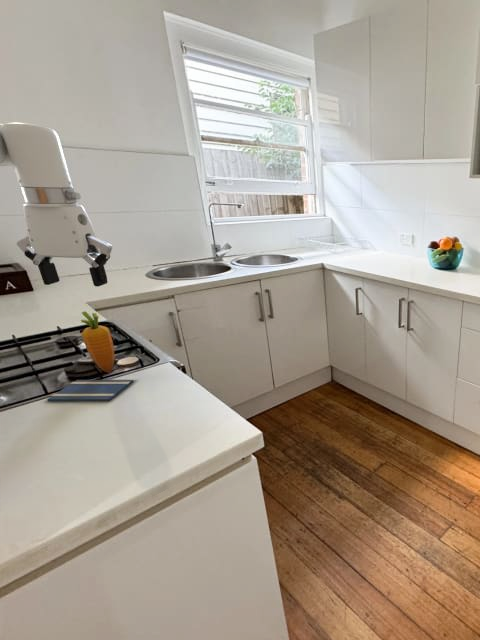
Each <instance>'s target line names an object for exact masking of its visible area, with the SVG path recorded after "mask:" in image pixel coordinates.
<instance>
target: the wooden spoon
mask: <svg viewBox="0 0 480 640" xmlns="http://www.w3.org/2000/svg"><path fill="white" fill-rule="evenodd" d="M77 363H78V364H80V365H97V364H96V363H95V362H94V360H93V359H92V358H79V359H78V360H77ZM138 364H140V359H139V357H138V356H128V357H124V358H121V359H118V358H114V364H113V365H117V367H119V368H121V369H122V368H130V367H135V366H136V365H138Z"/></svg>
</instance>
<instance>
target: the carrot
mask: <svg viewBox="0 0 480 640" xmlns="http://www.w3.org/2000/svg"><path fill="white" fill-rule="evenodd" d="M81 314H82V315H83V316H84V317H85V318H86V319H81V320H80V322H81V323H84V324H85V325H87V326H89V327H86V328H84V330H82V332H81V338H82V341H83V343H84V346H85V347H86V351H87V353H88V354H89V355H90V358H91V359H93V360H94V362H95V363H96V364H95V365H96V366H97V367H98V368H99V369H101V371H103V372H104V373H107V374H110V373H111V372H112V371H113V367H114V365H115V364H114V359H115V346H114V341H113V338H112V334H111V331H110V330H111V329H110V328H109V327H107V326H104V325H99V315H98V314H97V313H95V312H92V313H91V315H92V317H91V315H90V314H89V313H88V312H87V311H86V310H84V311H82V312H81Z"/></svg>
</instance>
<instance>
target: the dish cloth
mask: <svg viewBox="0 0 480 640" xmlns="http://www.w3.org/2000/svg"><path fill="white" fill-rule="evenodd" d="M133 383H134V380H133V379H75V381H72V382H71V383H69V384H68V385H67V386H65V387H64V388H62V389H61V390H59V391H57V392H56V393H53V394H52V395H51V396H50V397H48V398H47V399H46V400H47V402H110V401H112V400H113V399H114V398H115V397H117V396H118V395H119V394H120V393H121V392H123V391H124V390H126V388H128V387H129V386H130V385H131V384H133Z"/></svg>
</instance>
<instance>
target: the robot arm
mask: <svg viewBox="0 0 480 640" xmlns="http://www.w3.org/2000/svg"><path fill="white" fill-rule="evenodd" d="M10 166H12V168H13V171H14V173H15V176H16V179H17V183H18V186H19V188H20V192H21V195H22V197H23V201H24V204H23V205H22V206H23V216H24V224H25V227H26V231H27V236H25V237H24V238H21V239H20V240H18V241H17V242H16V245H17V246H18V248H19V249H20V250H21V252H22V253H24V256H25V257H26V258H28V259H29V260H31V261H32V264H33V265H34V266H37V267H38V271H39V273H40V277H41V279H42V282H43V284H44V286H49V285H53V284H56V283H59V282H60V281H61V280H60V277H59V274H58V271H57V267H56V265H55V263H54V262H51V261H52V259H53V258H66V259H67V258H71V259H83V260H84V261H85V262H86V263H87V264H89V265H90V267H89V268H88V270H89V274H90V277H91V280H92V284H93V287H101V286H104V285H107V284H108V276H107V273H106V268H105V265H107V262H108V261H109V259H110V258H111V254H112V249H113V246H112V244H110V243H108V242H106V241H105V240H102V239H100V238H98V237H97V235H96V231H95V228H94V226H93V223H92V221H91V219H90V217H89V215H88V213H87V211H86V209H85V208H84V206H83V205H82V204H78V201H80V200H81V198H82V196H81V194H80V193H79V192H75V190H74V187H73V183H72V178H71V176H70V173H69V169H68V165H67V162H66V158H65V155H64V150H63V148H62V144H61V141H60V138H59V135H58V133H57V132H56V130H55V129H53V128H52V127H49V126H45V125H41V124H33V123H23V122H6V123H4V124H3V123H0V167H10Z"/></svg>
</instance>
